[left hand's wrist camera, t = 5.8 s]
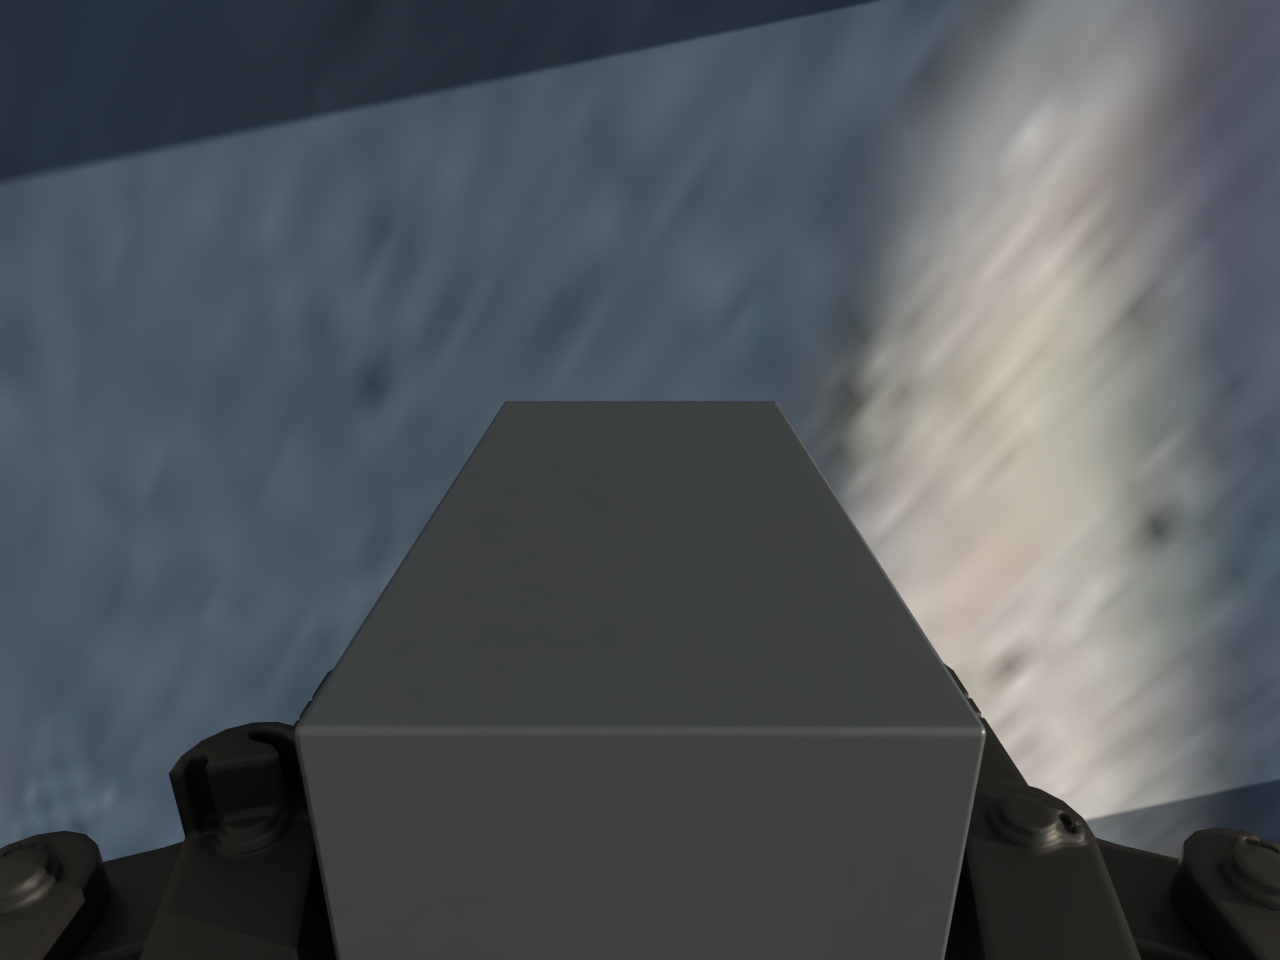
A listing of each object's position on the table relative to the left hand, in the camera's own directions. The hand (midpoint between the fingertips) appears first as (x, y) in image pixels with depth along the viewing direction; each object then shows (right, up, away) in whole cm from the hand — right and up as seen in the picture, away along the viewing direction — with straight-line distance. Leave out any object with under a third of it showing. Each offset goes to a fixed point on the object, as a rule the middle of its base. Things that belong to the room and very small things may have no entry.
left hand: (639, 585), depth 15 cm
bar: (0, -7, +3) cm, 8 cm away
